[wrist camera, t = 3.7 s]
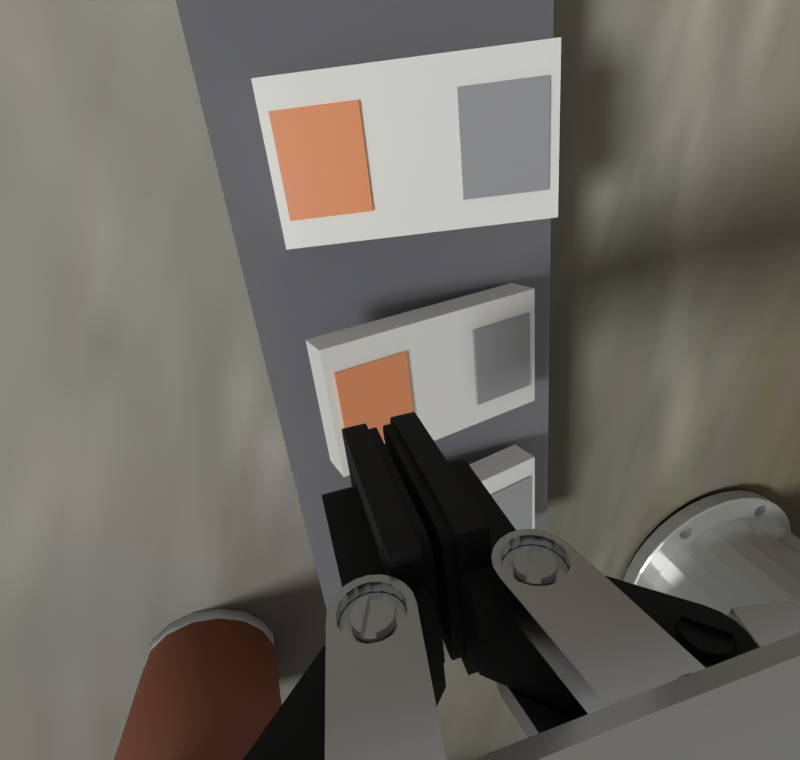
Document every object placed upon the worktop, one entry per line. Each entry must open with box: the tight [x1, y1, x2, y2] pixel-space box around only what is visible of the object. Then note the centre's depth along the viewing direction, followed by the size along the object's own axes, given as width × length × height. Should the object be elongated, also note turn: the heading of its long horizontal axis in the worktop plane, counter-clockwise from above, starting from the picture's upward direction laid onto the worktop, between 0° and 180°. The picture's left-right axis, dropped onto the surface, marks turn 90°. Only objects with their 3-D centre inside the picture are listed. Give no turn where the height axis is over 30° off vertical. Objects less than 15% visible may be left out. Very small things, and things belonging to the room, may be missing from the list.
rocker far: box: [469, 445, 535, 531], centre depth 20 cm, size 8×4×1 cm, turn 97°
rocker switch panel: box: [176, 0, 554, 610], centre depth 20 cm, size 11×24×4 cm, turn 7°
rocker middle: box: [306, 283, 535, 477], centre depth 17 cm, size 8×4×1 cm, turn 97°
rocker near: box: [251, 37, 561, 250], centre depth 14 cm, size 8×4×1 cm, turn 97°
